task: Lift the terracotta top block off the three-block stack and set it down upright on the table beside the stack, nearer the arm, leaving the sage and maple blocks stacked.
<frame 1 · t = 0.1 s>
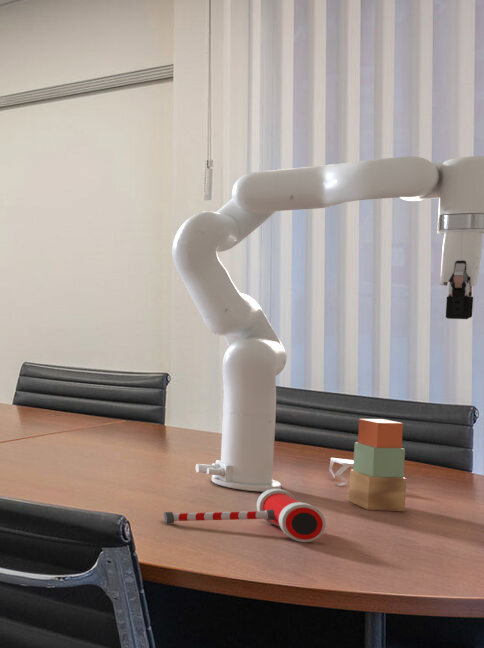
hand: (458, 318, 156), 37 cm above the table, tool pointing down, fingers open, 9 cm apart
toy hammer: (251, 531, 148), on the table
origami figure: (356, 486, 182), on the table
top block: (379, 445, 164), point 12 cm above the table, touching middle block
base block: (376, 506, 165), on the table, touching middle block
middle block: (377, 473, 164), point 6 cm above the table, touching base block, top block
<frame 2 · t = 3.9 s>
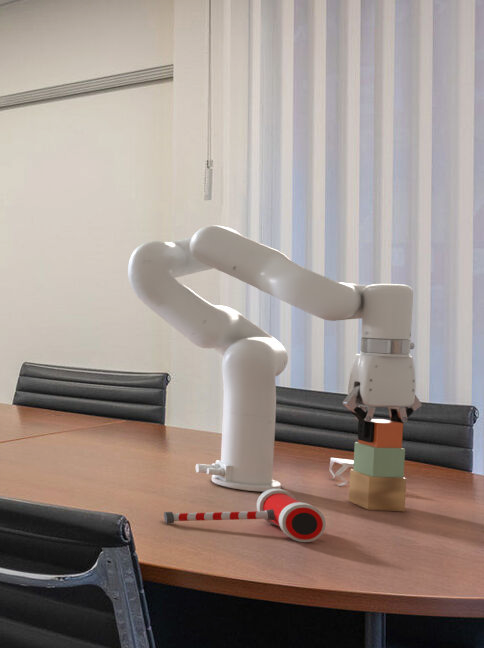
hand: (379, 440, 164), 13 cm above the table, tool pointing down, fingers closed on top block, 4 cm apart
top block: (379, 445, 164), point 12 cm above the table, touching gripper, middle block
everything else where it was.
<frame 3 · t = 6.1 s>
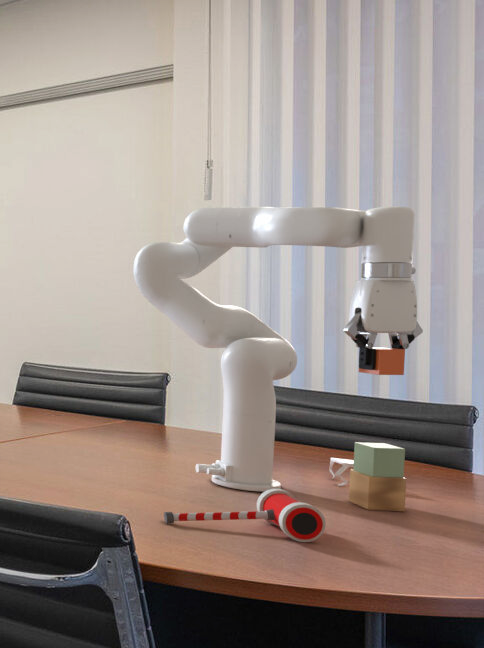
hand: (381, 368, 160), 27 cm above the table, tool pointing down, fingers closed on top block, 4 cm apart
top block: (380, 373, 160), point 26 cm above the table, touching gripper
middle block: (377, 473, 164), point 6 cm above the table, touching base block
everything else where it was.
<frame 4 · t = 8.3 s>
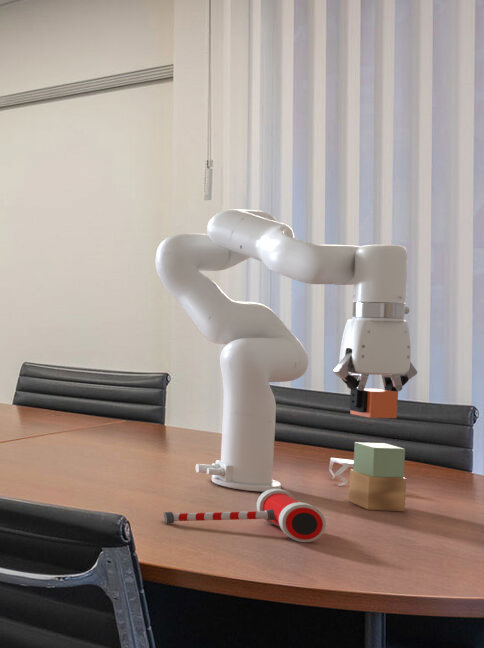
hand: (373, 410, 155), 20 cm above the table, tool pointing down, fingers closed on top block, 4 cm apart
top block: (373, 415, 155), point 19 cm above the table, touching gripper
everything else where it was.
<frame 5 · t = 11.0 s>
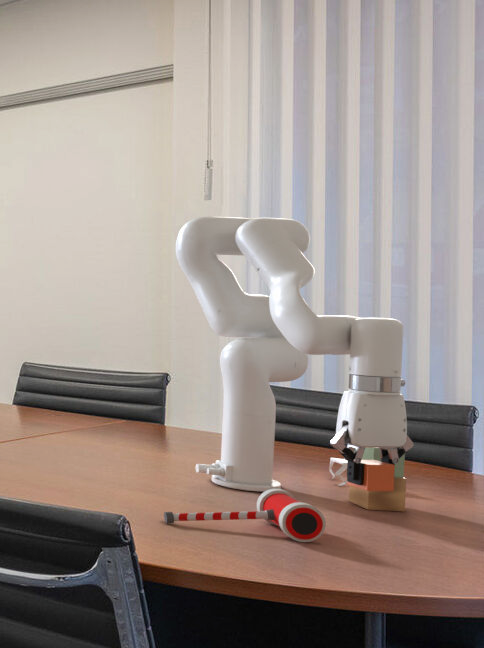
hand: (370, 482, 155), 7 cm above the table, tool pointing down, fingers closed on top block, 4 cm apart
top block: (370, 487, 155), point 6 cm above the table, touching gripper
everything else where it was.
when the fingers open (1 cm above the table, at t = 12.8 s): top block stays where it is, on the table.
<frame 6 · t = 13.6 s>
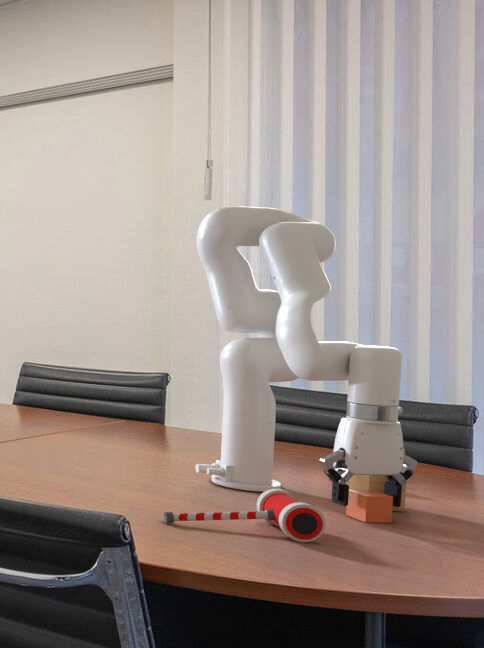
hand: (365, 504, 156), 2 cm above the table, tool pointing down, fingers open, 9 cm apart
top block: (368, 518, 156), on the table
everything else where it was.
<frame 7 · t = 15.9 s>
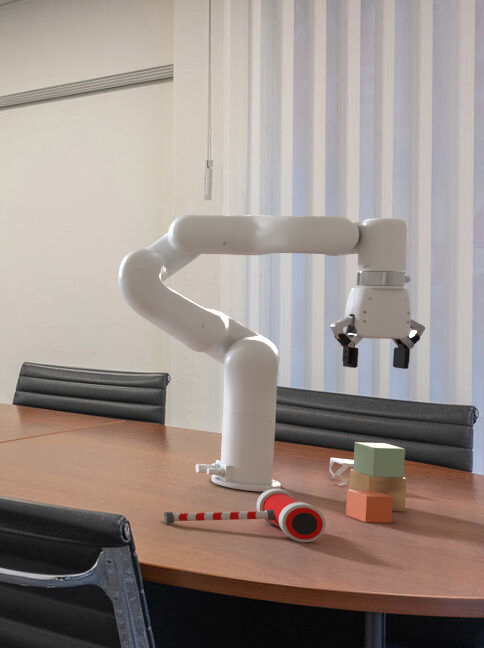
hand: (375, 367, 167), 27 cm above the table, tool pointing down, fingers open, 9 cm apart
nothing on the table moved.
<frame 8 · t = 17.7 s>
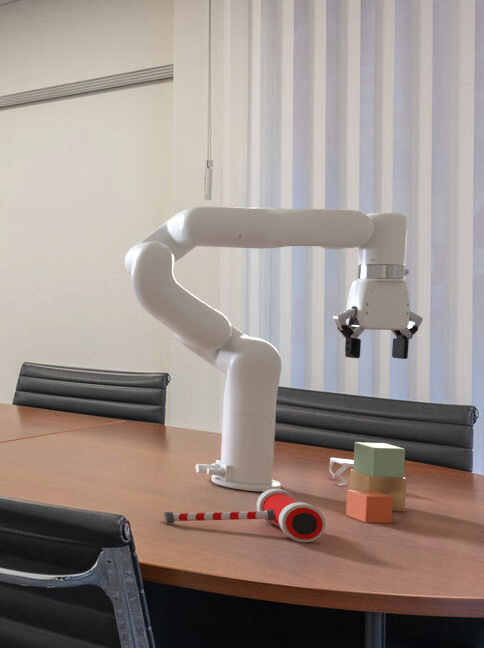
hand: (376, 357, 172), 28 cm above the table, tool pointing down, fingers open, 9 cm apart
nothing on the table moved.
at the end: top block inside the target area (0.3 cm from its centre), on the table; top block tilted 0°; middle block moved 0.0 cm from its start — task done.
